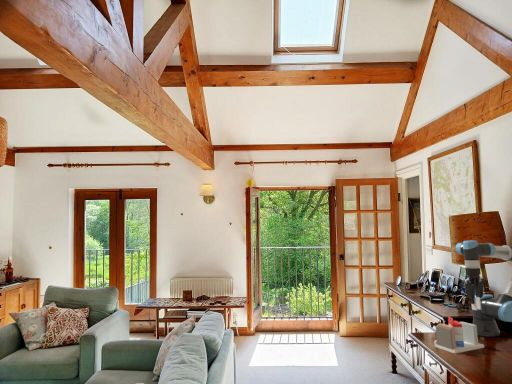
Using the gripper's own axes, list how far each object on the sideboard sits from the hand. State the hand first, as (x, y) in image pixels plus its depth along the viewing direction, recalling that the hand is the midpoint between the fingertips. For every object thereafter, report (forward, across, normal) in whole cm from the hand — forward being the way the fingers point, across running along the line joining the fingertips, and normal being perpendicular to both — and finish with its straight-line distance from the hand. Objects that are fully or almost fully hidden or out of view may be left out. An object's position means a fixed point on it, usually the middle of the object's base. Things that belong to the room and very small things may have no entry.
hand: (476, 309), depth 210 cm
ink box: (+17, +17, 0) cm, 24 cm away
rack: (+19, +16, 0) cm, 24 cm away
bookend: (+17, +8, 0) cm, 19 cm away
